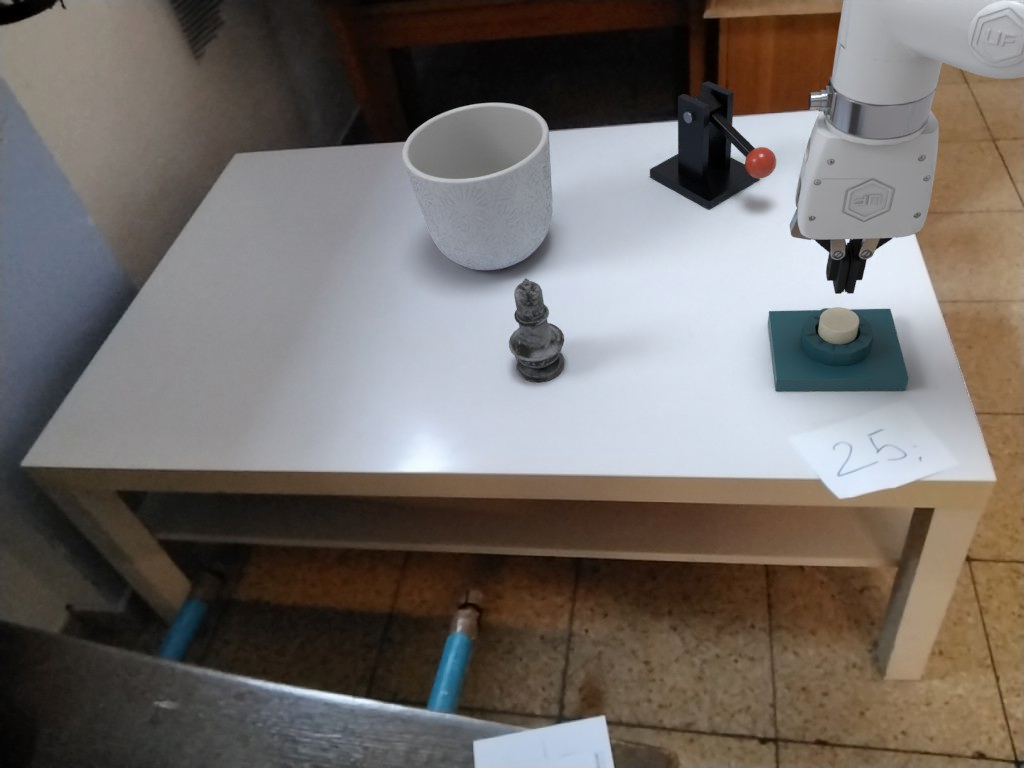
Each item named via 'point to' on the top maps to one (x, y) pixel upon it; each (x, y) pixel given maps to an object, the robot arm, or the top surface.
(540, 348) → the stone chess piece
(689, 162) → the lever base
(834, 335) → the button
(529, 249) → the planter
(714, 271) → the top surface
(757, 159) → the lever
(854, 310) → the block
